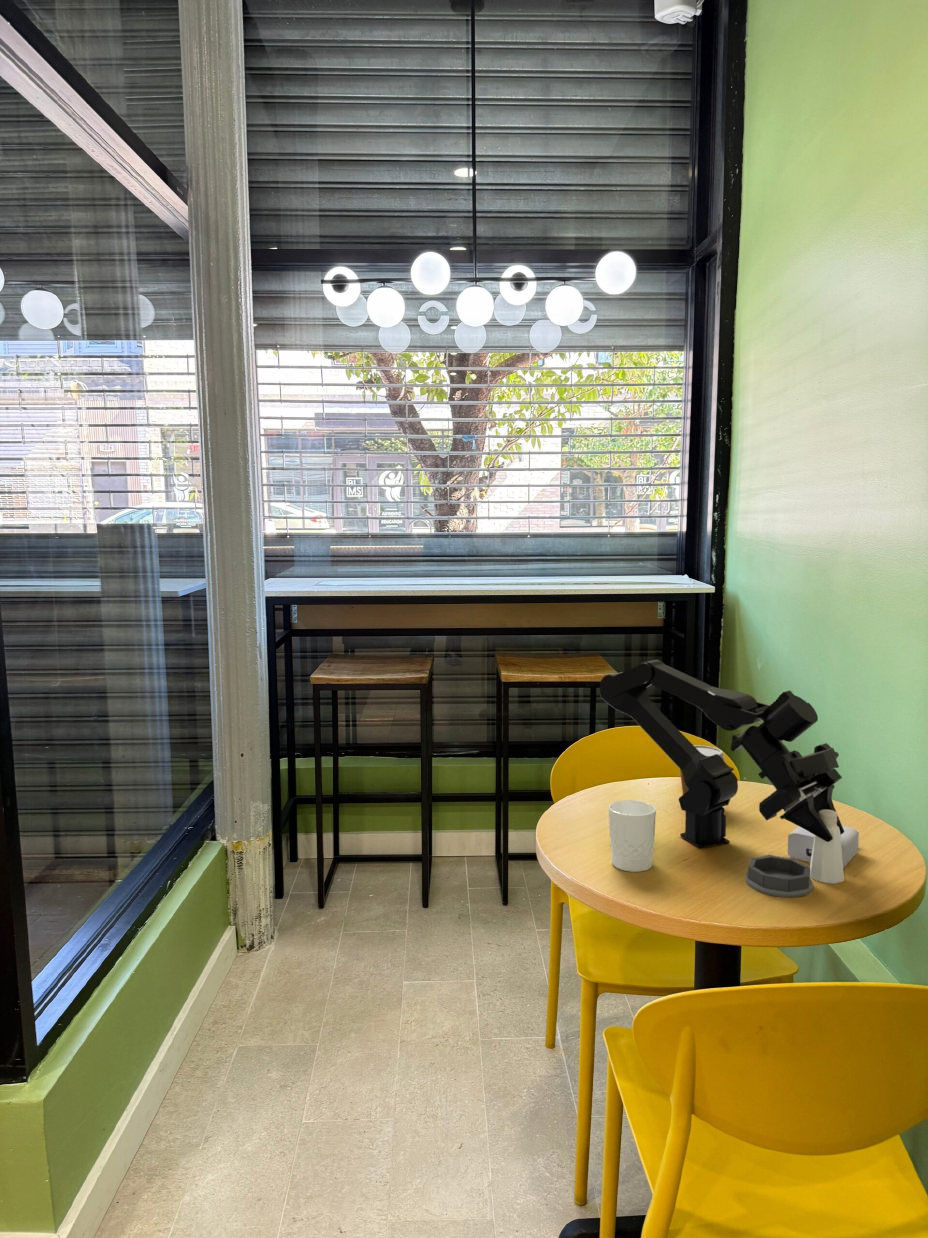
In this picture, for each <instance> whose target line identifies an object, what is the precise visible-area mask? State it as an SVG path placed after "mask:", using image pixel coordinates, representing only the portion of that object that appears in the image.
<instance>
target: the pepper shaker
mask: <svg viewBox="0 0 928 1238" xmlns="http://www.w3.org/2000/svg"><path fill="white" fill-rule="evenodd" d="M819 816H820V818H821V820H822V821H823V823H824V824H825V826H826V827H827V829H828V830H829V832H830V834H831V835H832V837H833V839H832V840H831V841H829V842H826V841H824V840H823V839H821V838H819V837H817V836H816V835H814V842H813V849H812V856H811V862H809V863H810V865H809V867H810V879H813V880H815V881H817V882H819V883H824V884H833V885H836V884H840V883H842V882H844V881H845V876H844V875H845V874H844V868H843V861H842V848H841V835H840V829H839V827H838V826H837V824H836V823H837V816H838V817H839V814H838V812H837V811H836V812H835V811H833V810H826V809H825V810H820V811H819Z"/></svg>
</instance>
